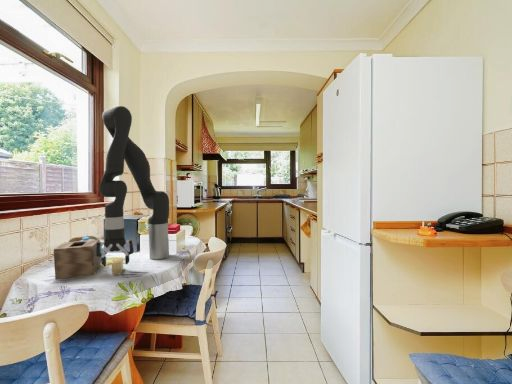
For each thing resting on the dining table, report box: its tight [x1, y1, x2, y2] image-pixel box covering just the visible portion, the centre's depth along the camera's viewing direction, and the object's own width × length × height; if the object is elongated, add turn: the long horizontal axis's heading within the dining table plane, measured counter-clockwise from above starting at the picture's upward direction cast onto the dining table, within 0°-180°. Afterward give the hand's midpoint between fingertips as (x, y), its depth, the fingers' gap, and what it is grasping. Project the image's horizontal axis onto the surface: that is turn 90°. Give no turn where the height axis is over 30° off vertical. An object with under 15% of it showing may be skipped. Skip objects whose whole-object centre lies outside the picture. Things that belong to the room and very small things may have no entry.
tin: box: [68, 235, 99, 242], centre depth 161 cm, size 15×3×8 cm, turn 114°
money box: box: [53, 239, 102, 279], centre depth 125 cm, size 14×14×12 cm
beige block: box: [111, 257, 124, 275], centre depth 123 cm, size 4×7×5 cm, turn 19°
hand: (115, 264), depth 123 cm, fingers open, 8 cm apart
